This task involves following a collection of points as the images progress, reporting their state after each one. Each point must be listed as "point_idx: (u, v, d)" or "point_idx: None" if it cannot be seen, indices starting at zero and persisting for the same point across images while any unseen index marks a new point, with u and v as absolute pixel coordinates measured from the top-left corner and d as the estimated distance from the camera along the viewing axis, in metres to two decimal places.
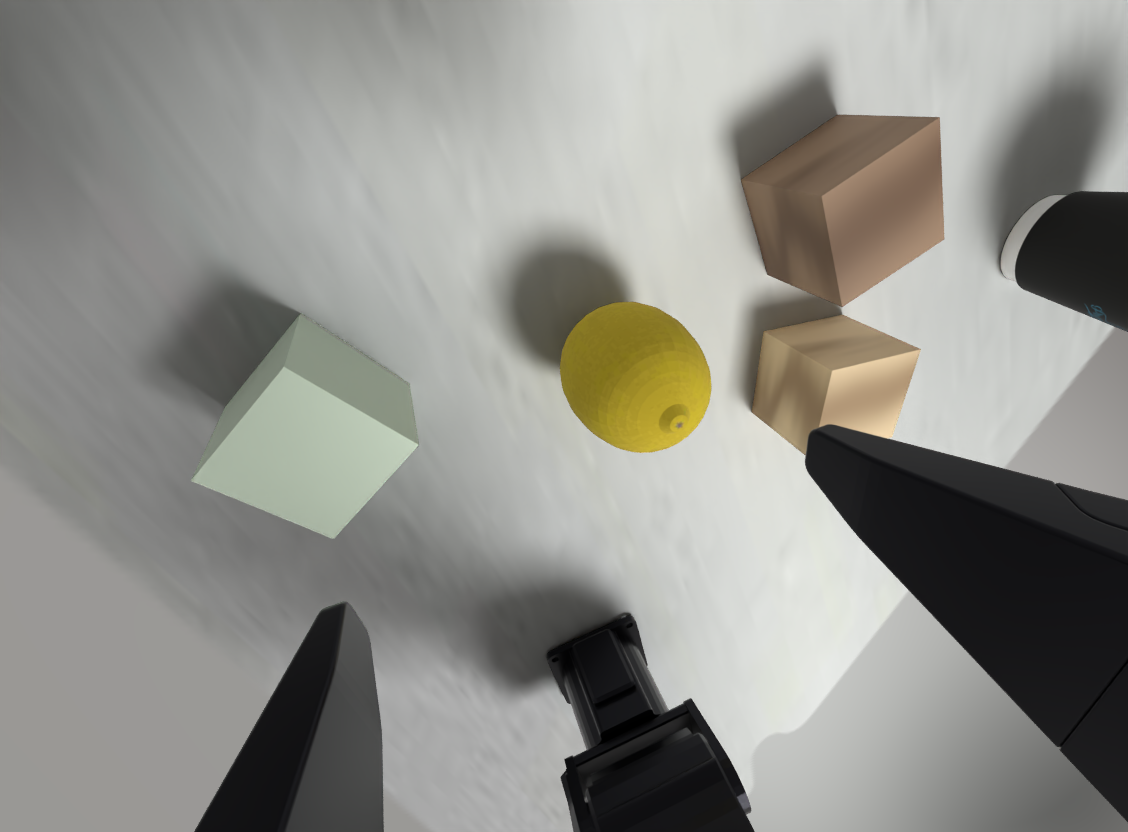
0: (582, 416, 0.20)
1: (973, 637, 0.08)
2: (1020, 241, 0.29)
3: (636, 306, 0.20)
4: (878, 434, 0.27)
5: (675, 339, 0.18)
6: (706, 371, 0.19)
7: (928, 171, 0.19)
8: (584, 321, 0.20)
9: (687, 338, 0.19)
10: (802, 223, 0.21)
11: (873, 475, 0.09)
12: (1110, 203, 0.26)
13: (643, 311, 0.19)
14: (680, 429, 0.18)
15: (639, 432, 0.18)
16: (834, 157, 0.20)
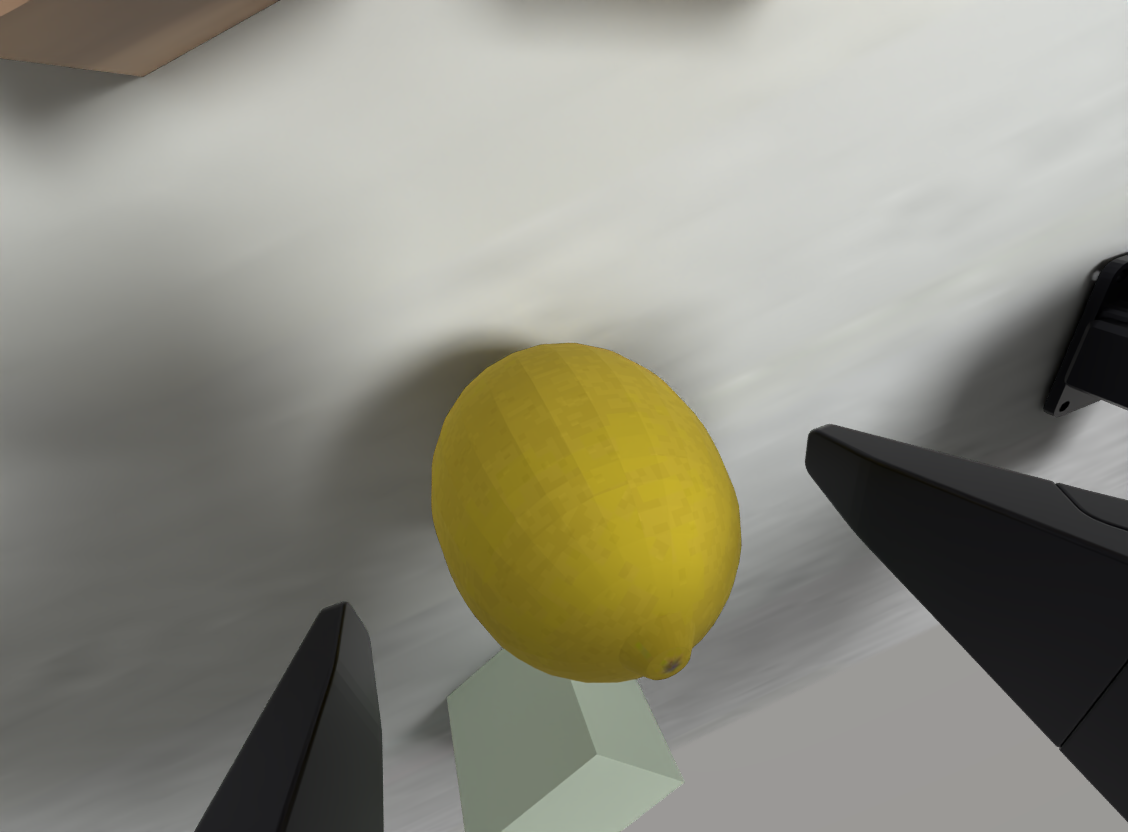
0: None
1: (973, 637, 0.08)
2: None
3: (432, 494, 0.10)
4: None
5: (479, 564, 0.08)
6: (570, 518, 0.07)
7: None
8: None
9: (485, 520, 0.08)
10: None
11: (873, 475, 0.09)
12: None
13: (435, 514, 0.09)
14: (687, 655, 0.07)
15: None
16: None
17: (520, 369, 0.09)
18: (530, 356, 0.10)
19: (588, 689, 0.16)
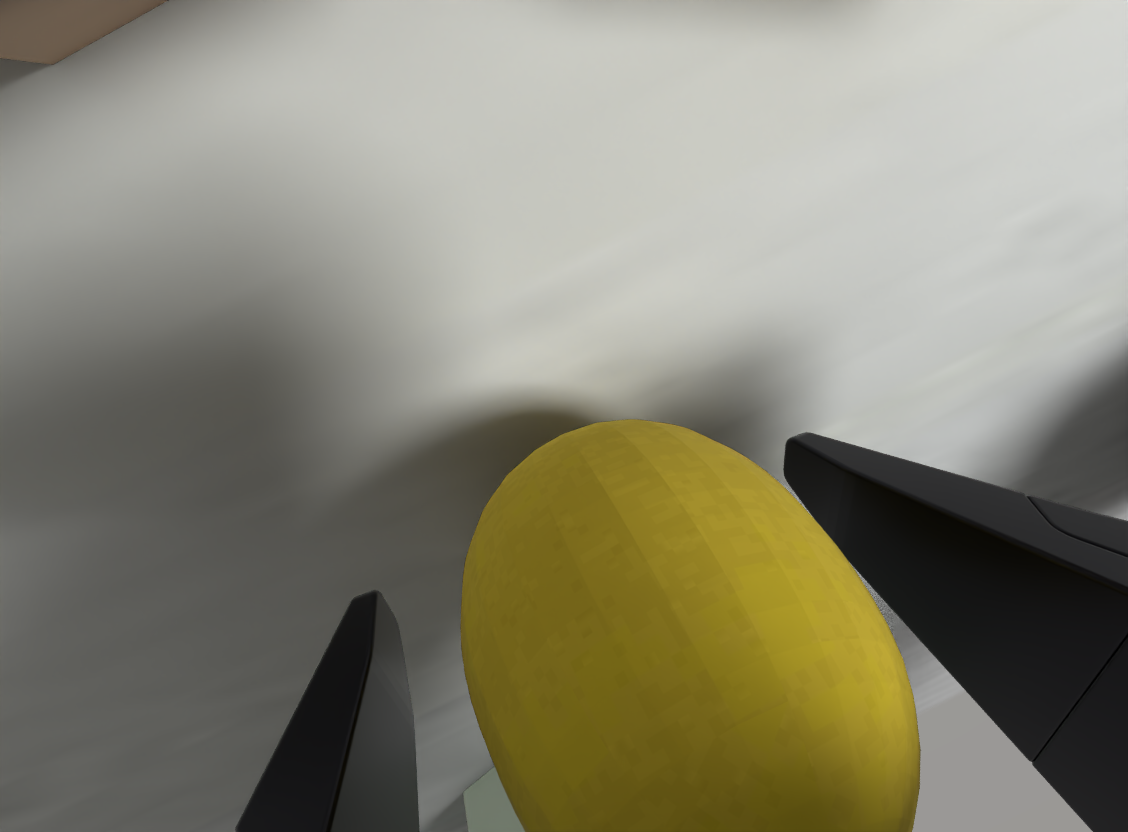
0: None
1: (947, 650, 0.08)
2: None
3: (463, 638, 0.07)
4: None
5: (546, 800, 0.05)
6: (700, 760, 0.04)
7: None
8: None
9: (557, 736, 0.05)
10: None
11: (848, 485, 0.09)
12: None
13: (470, 675, 0.07)
14: None
15: None
16: None
17: (589, 476, 0.07)
18: (599, 451, 0.07)
19: None
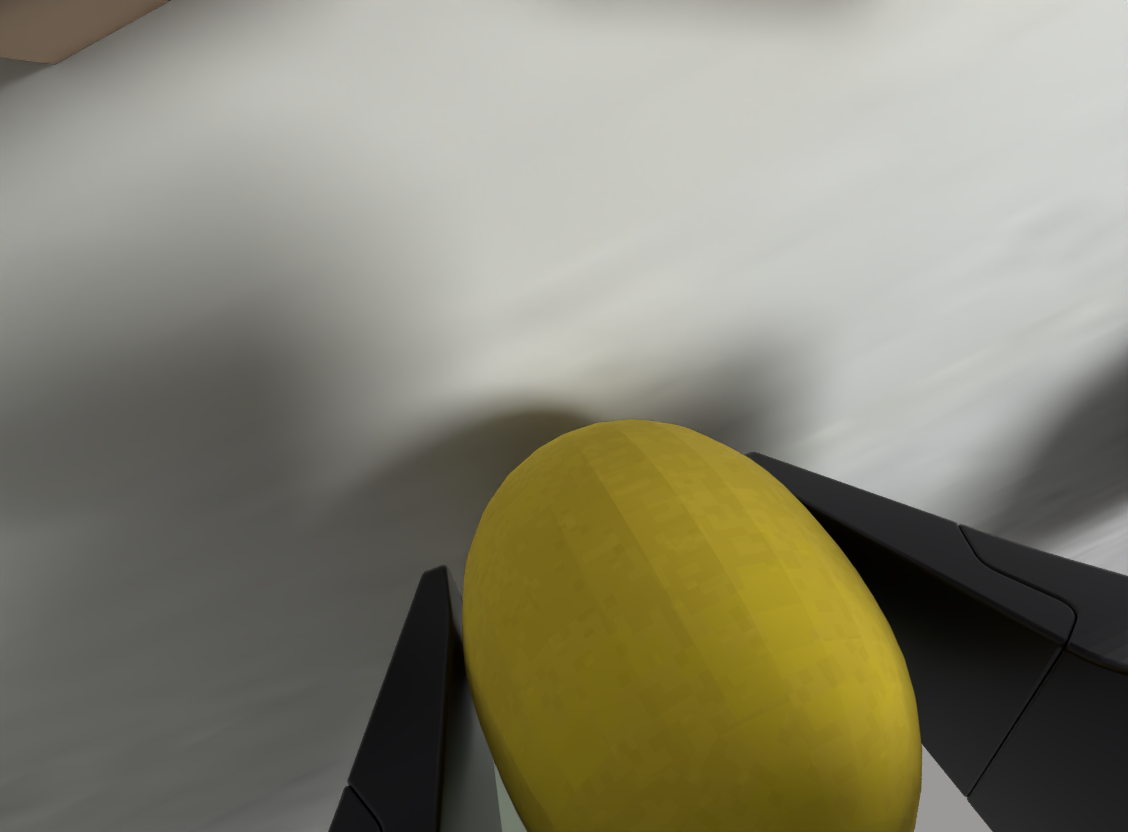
0: None
1: None
2: None
3: (464, 637, 0.07)
4: None
5: (548, 800, 0.05)
6: (702, 760, 0.04)
7: None
8: None
9: (558, 736, 0.05)
10: None
11: None
12: None
13: (471, 675, 0.07)
14: None
15: None
16: None
17: (590, 476, 0.07)
18: (600, 450, 0.07)
19: None
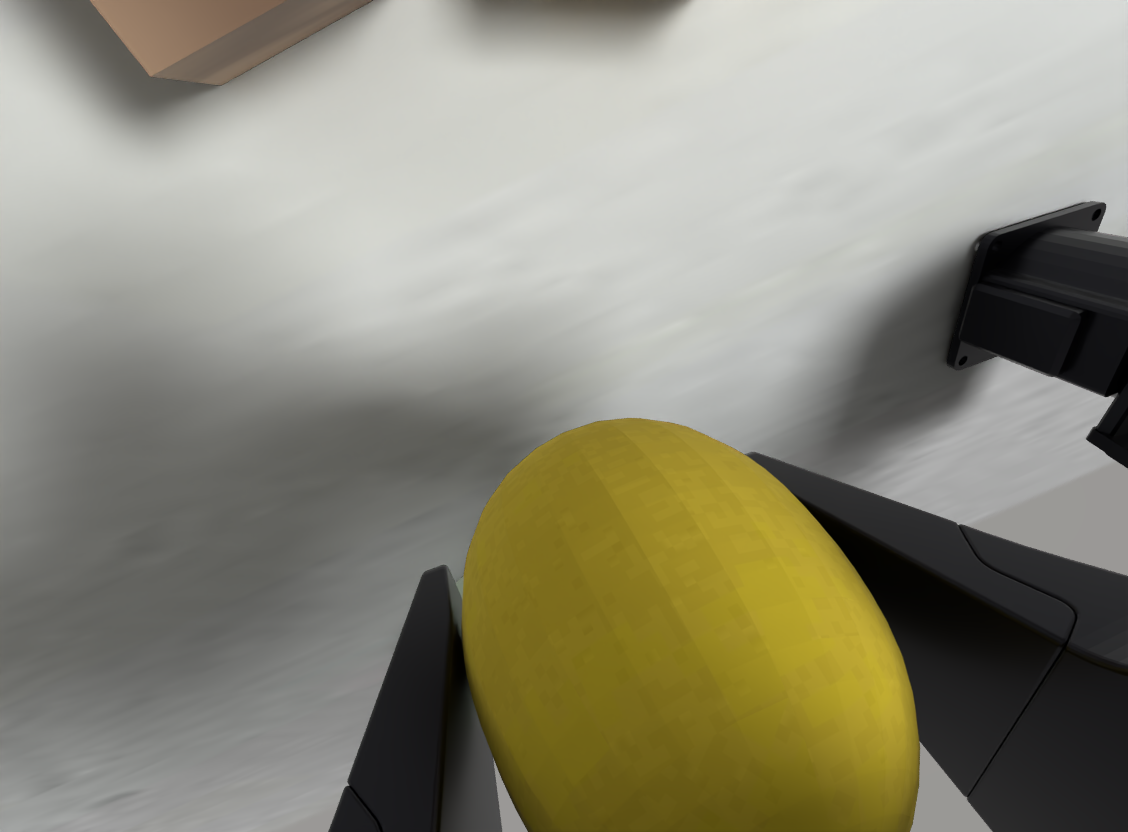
0: None
1: None
2: None
3: (464, 636, 0.07)
4: None
5: (547, 797, 0.05)
6: (701, 756, 0.04)
7: None
8: None
9: (558, 732, 0.05)
10: (244, 41, 0.09)
11: None
12: None
13: (471, 673, 0.07)
14: None
15: None
16: None
17: (589, 473, 0.07)
18: (599, 449, 0.07)
19: None
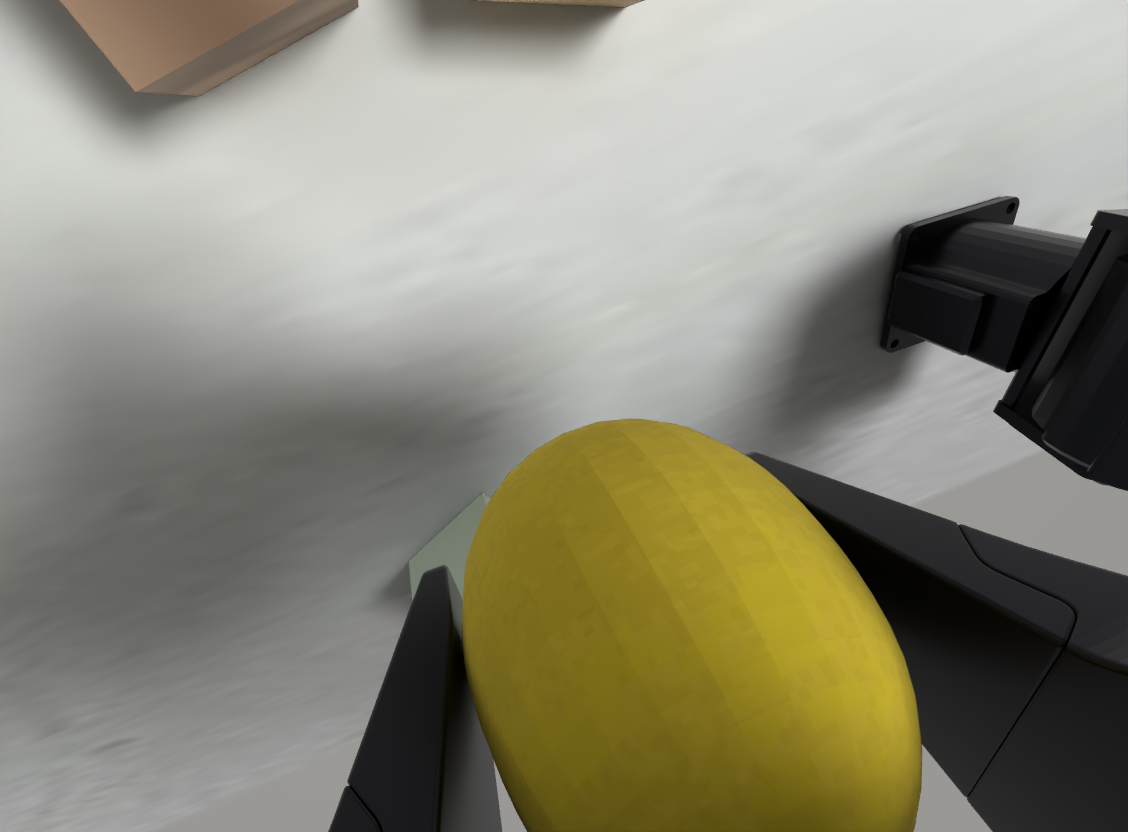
0: None
1: None
2: None
3: (464, 637, 0.07)
4: None
5: (548, 799, 0.05)
6: (702, 759, 0.04)
7: None
8: None
9: (559, 734, 0.05)
10: (214, 62, 0.11)
11: None
12: None
13: (471, 675, 0.07)
14: None
15: None
16: None
17: (590, 475, 0.07)
18: (600, 450, 0.07)
19: None
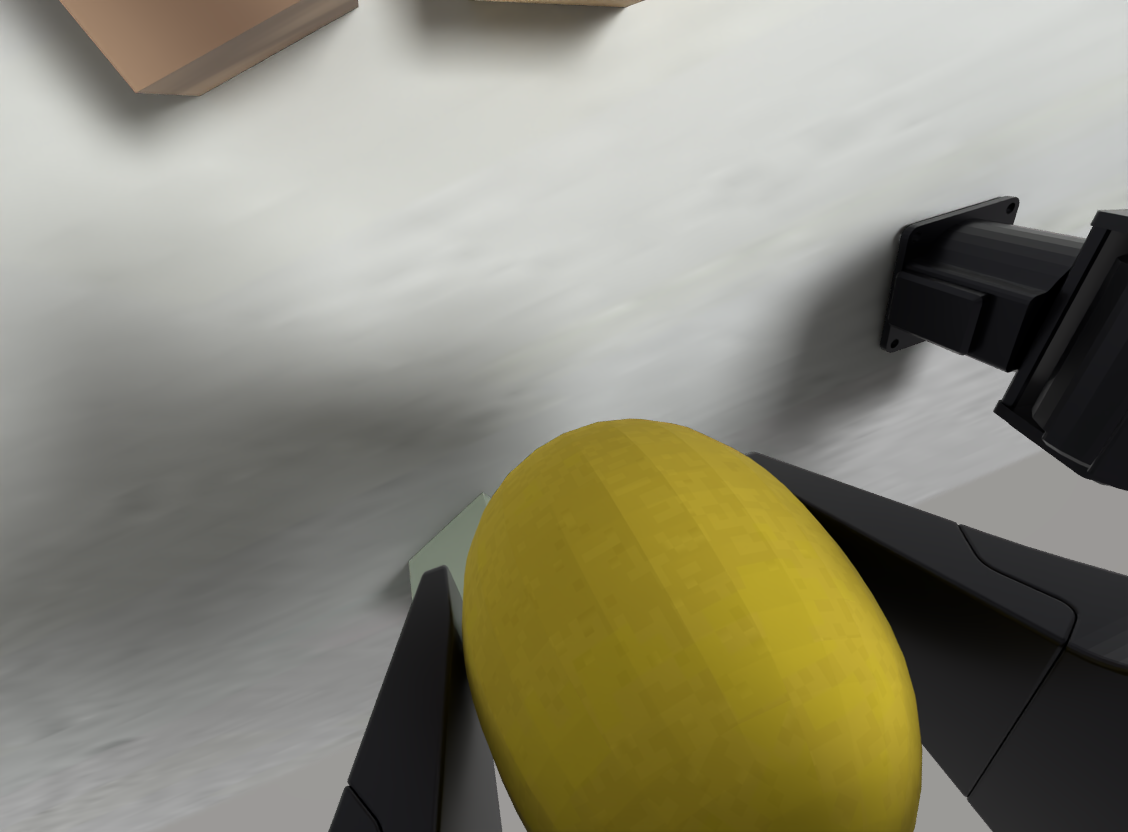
0: None
1: None
2: None
3: (464, 637, 0.07)
4: None
5: (548, 800, 0.05)
6: (702, 759, 0.04)
7: None
8: None
9: (558, 734, 0.05)
10: (214, 62, 0.11)
11: None
12: None
13: (471, 675, 0.07)
14: None
15: None
16: None
17: (590, 474, 0.07)
18: (600, 450, 0.07)
19: None
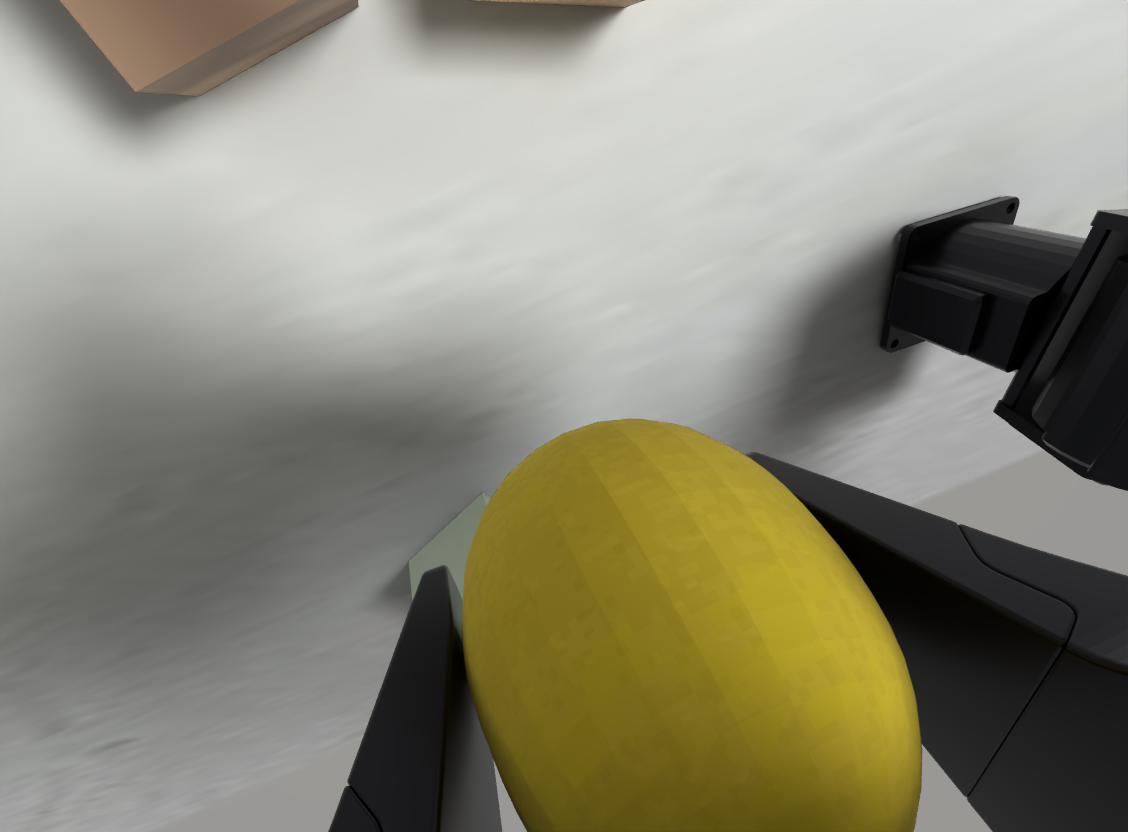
0: None
1: None
2: None
3: (464, 637, 0.07)
4: None
5: (548, 800, 0.05)
6: (702, 759, 0.04)
7: None
8: None
9: (558, 734, 0.05)
10: (214, 62, 0.11)
11: None
12: None
13: (471, 675, 0.07)
14: None
15: None
16: None
17: (590, 475, 0.07)
18: (600, 450, 0.07)
19: None
